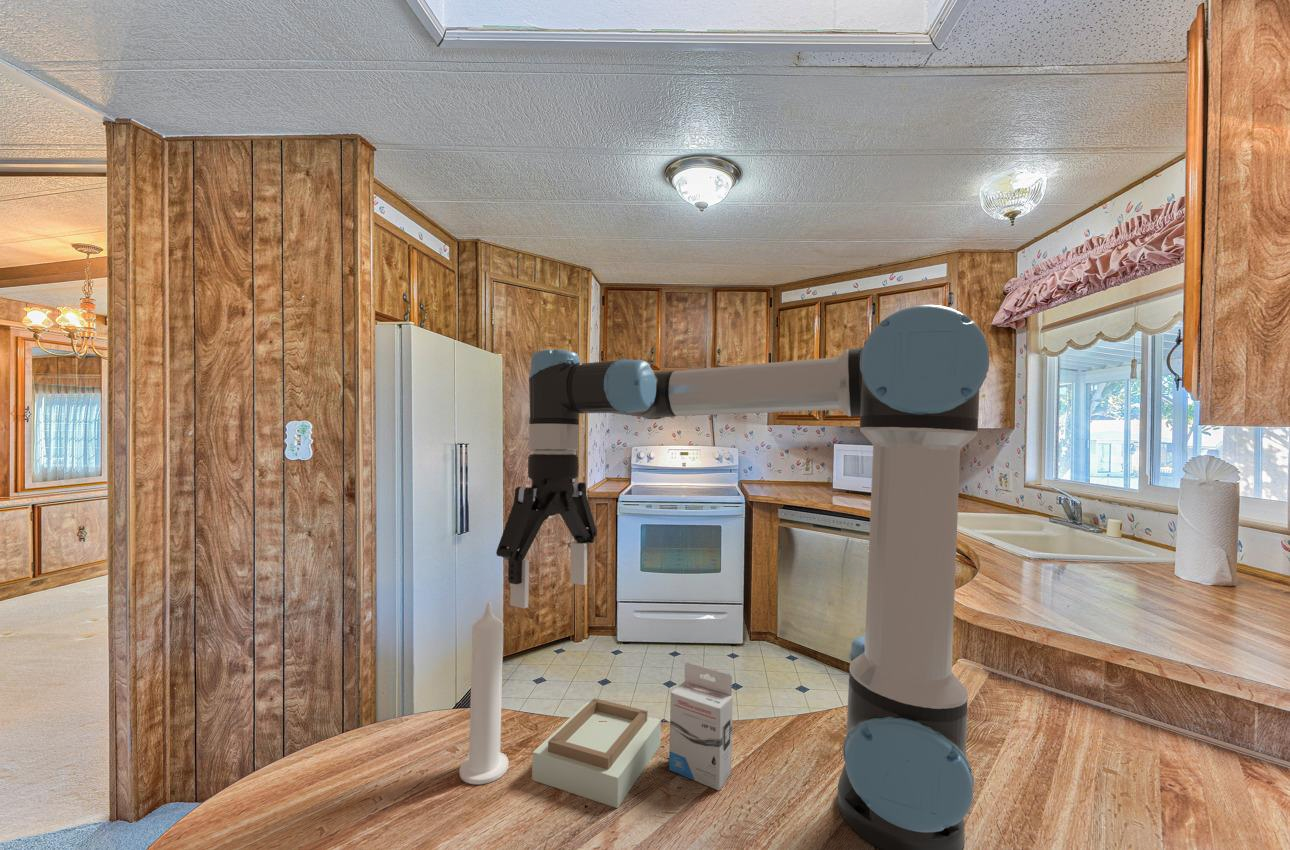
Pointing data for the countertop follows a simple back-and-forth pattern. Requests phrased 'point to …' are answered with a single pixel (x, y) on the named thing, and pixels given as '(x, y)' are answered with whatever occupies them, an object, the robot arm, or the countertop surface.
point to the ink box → (702, 727)
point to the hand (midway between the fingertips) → (551, 594)
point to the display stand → (598, 751)
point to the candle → (485, 703)
